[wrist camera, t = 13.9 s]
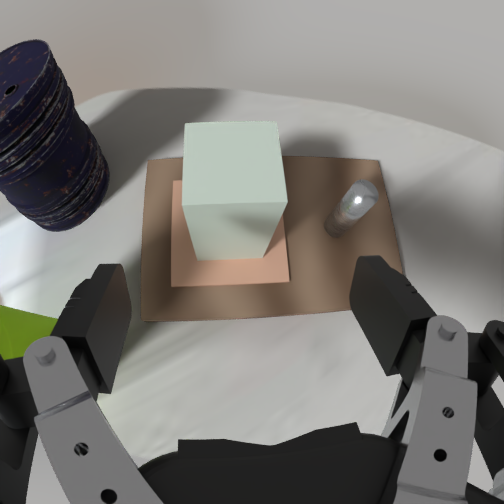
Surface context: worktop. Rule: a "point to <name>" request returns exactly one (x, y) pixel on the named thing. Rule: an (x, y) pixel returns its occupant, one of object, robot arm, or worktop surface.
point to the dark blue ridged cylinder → (46, 142)
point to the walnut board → (297, 245)
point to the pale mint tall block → (232, 187)
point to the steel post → (351, 208)
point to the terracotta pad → (222, 271)
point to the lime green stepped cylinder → (21, 330)
